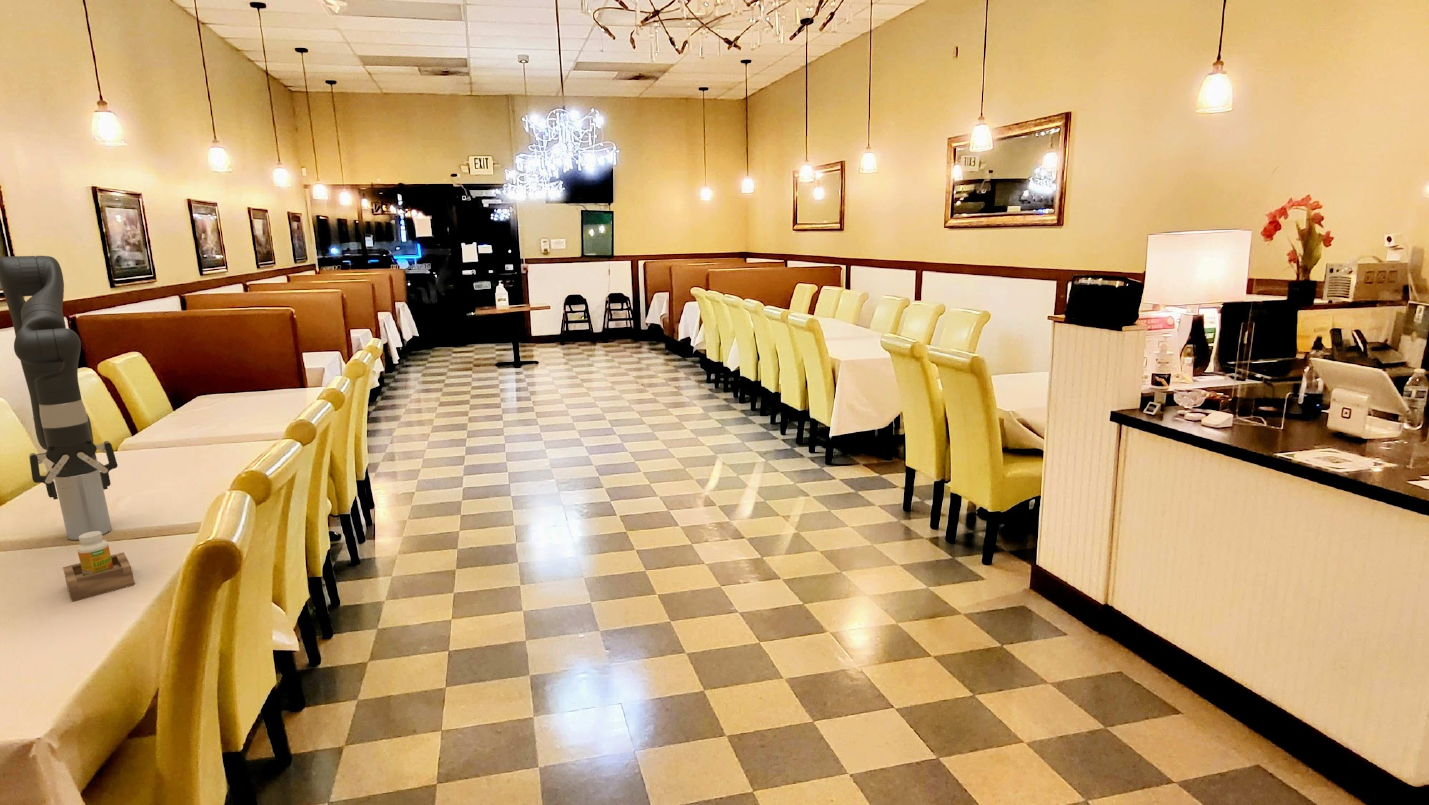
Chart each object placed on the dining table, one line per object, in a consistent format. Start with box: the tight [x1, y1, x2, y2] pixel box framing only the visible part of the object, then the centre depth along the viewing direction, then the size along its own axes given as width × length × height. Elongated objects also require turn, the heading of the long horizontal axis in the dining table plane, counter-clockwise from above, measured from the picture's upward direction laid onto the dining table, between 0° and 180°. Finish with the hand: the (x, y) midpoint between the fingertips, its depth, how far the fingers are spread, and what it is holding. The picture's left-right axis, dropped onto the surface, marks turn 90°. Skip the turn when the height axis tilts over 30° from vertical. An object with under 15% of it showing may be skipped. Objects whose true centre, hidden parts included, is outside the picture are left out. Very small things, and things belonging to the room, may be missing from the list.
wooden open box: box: [62, 551, 136, 602], centre depth 171 cm, size 11×11×4 cm
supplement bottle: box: [77, 531, 113, 576], centre depth 170 cm, size 5×5×10 cm
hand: (80, 493), depth 166 cm, fingers open, 8 cm apart
